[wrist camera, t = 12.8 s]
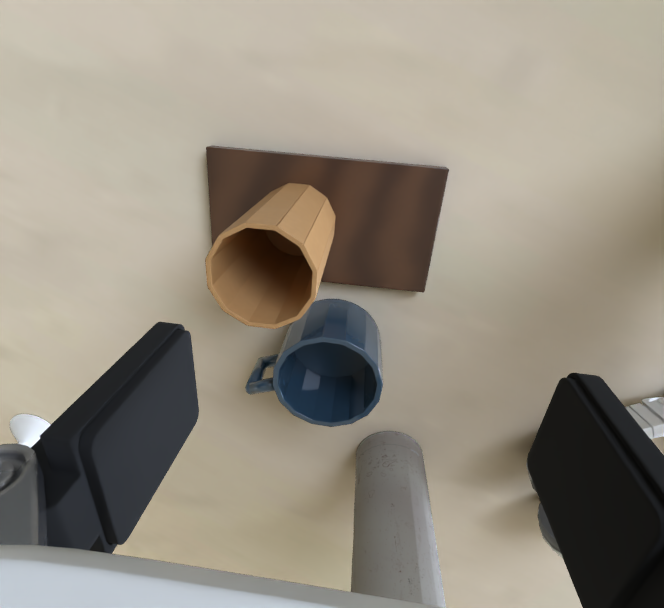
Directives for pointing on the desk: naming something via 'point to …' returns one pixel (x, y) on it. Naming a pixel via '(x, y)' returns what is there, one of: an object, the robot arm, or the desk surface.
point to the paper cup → (273, 257)
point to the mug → (326, 365)
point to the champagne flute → (27, 428)
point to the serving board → (343, 209)
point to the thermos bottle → (394, 523)
